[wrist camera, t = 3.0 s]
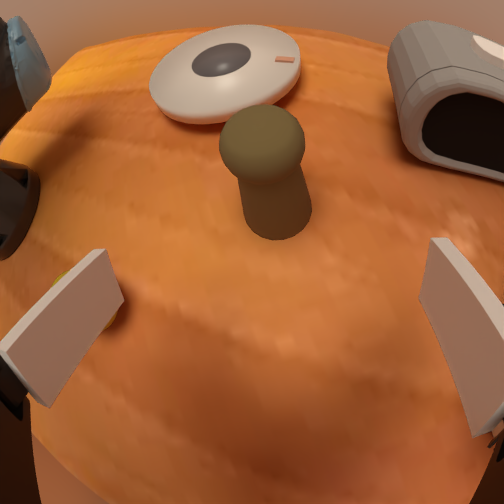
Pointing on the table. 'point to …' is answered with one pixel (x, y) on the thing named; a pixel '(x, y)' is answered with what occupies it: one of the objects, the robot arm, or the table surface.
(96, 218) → the table surface
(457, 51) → the alarm clock
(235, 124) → the cork
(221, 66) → the turntable
